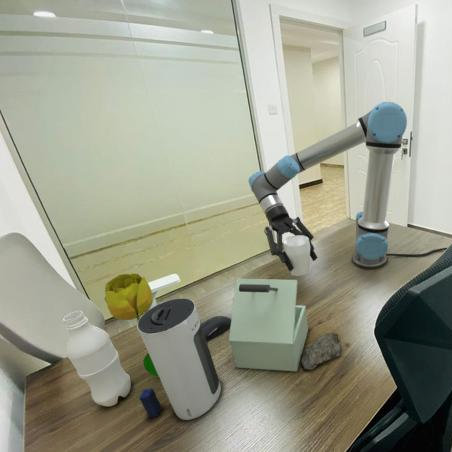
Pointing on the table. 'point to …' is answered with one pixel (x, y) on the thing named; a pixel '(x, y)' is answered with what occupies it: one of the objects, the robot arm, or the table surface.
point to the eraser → (150, 402)
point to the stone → (321, 351)
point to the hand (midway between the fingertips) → (303, 264)
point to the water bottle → (95, 360)
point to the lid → (264, 311)
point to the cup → (298, 253)
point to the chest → (273, 349)
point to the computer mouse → (215, 326)
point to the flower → (130, 303)
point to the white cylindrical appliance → (181, 356)
